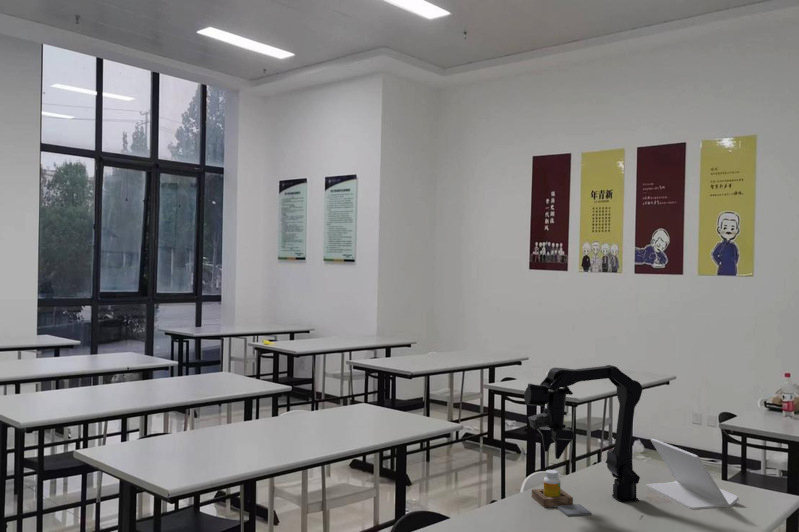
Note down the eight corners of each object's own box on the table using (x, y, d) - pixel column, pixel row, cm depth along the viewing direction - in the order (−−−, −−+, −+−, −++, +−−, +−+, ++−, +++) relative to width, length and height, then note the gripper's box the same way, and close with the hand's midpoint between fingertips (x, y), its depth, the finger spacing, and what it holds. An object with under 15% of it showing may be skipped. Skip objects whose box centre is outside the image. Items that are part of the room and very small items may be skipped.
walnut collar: (559, 495, 224) (559, 487, 224) (572, 505, 214) (572, 497, 214) (531, 497, 222) (531, 489, 222) (543, 507, 213) (543, 499, 213)
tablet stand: (691, 510, 211) (691, 456, 211) (644, 486, 235) (644, 438, 236) (740, 506, 215) (739, 453, 216) (689, 483, 240) (689, 435, 240)
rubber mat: (580, 506, 214) (580, 504, 214) (591, 514, 206) (591, 512, 206) (556, 507, 212) (556, 505, 212) (567, 516, 204) (567, 514, 204)
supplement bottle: (560, 504, 215) (560, 474, 215) (543, 503, 216) (543, 473, 217) (560, 499, 221) (560, 469, 221) (543, 498, 222) (543, 468, 222)
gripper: (522, 400, 225) (518, 446, 225) (543, 410, 207) (538, 461, 206) (553, 402, 227) (549, 448, 227) (577, 413, 209) (572, 463, 208)
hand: (551, 455), depth 217 cm, fingers open, 9 cm apart
